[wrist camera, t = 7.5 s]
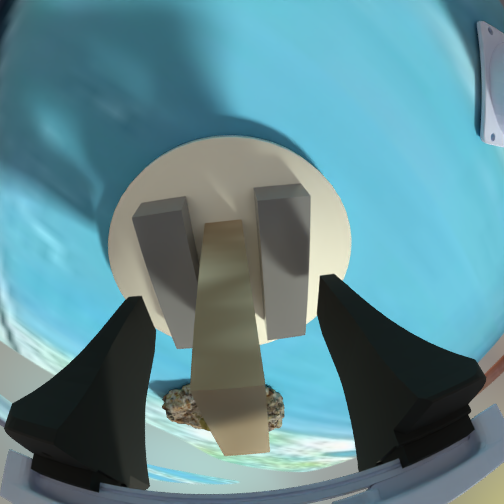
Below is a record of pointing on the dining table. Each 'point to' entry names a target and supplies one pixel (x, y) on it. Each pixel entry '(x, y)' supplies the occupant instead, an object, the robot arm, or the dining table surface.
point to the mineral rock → (187, 412)
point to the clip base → (225, 209)
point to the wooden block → (228, 345)
